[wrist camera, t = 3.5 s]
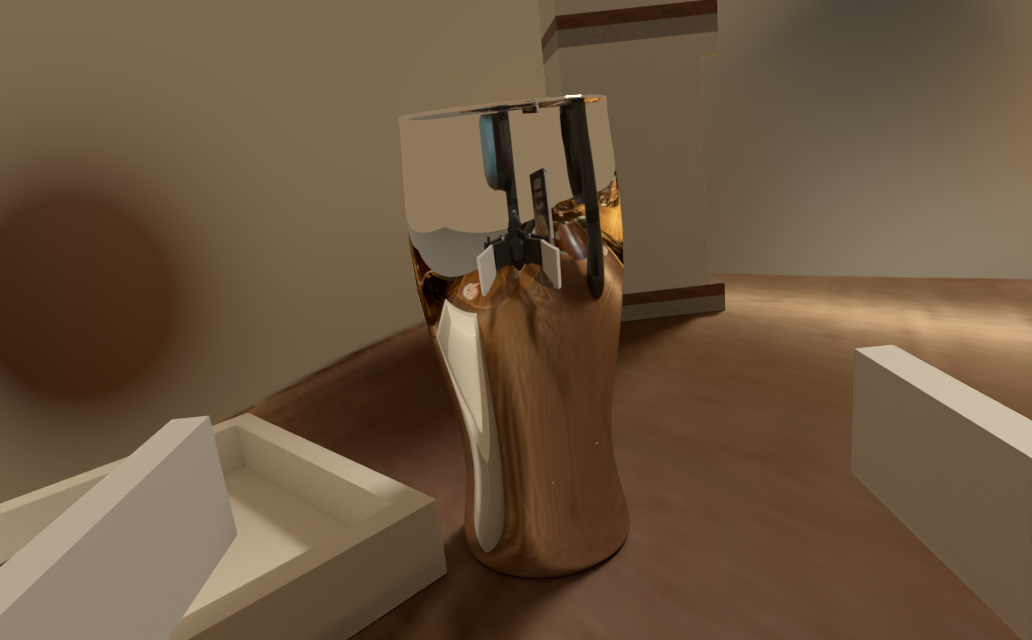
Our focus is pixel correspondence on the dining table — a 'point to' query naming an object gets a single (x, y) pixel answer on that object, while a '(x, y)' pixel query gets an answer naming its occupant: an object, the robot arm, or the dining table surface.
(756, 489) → the dining table surface
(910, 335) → the dining table surface
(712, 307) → the tall white shelf unit
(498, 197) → the beer glass
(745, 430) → the dining table surface
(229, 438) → the dish
